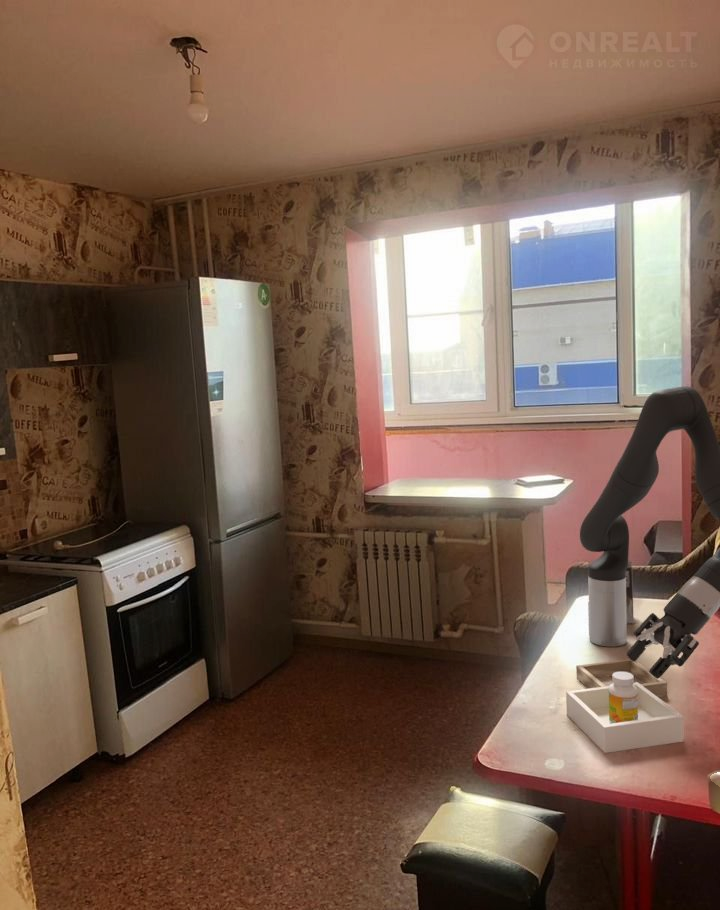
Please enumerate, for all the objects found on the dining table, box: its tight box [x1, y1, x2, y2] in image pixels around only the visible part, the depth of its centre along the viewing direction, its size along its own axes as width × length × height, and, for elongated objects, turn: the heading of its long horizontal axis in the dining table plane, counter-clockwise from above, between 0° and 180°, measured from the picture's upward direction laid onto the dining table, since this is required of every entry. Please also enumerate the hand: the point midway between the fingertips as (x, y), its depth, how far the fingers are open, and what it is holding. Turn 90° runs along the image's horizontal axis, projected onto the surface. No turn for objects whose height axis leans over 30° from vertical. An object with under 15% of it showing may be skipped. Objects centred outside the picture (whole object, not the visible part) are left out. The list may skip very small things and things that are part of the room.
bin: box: [565, 681, 684, 754], centre depth 145 cm, size 16×16×5 cm
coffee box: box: [626, 561, 635, 624], centre depth 206 cm, size 9×6×16 cm
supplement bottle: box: [608, 672, 638, 723], centre depth 145 cm, size 5×5×10 cm
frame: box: [575, 658, 668, 698], centre depth 164 cm, size 14×14×3 cm
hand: (641, 666), depth 145 cm, fingers open, 8 cm apart
